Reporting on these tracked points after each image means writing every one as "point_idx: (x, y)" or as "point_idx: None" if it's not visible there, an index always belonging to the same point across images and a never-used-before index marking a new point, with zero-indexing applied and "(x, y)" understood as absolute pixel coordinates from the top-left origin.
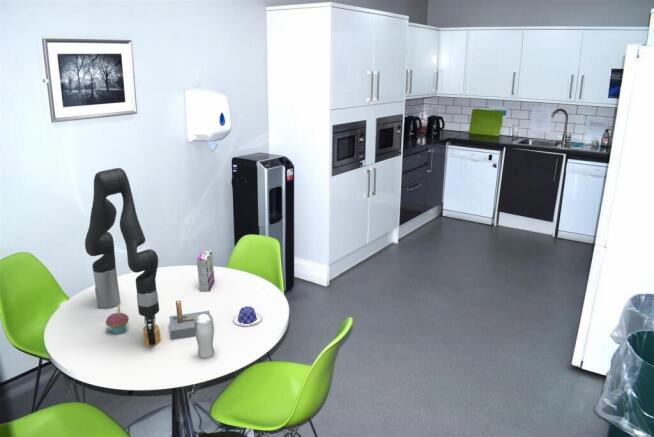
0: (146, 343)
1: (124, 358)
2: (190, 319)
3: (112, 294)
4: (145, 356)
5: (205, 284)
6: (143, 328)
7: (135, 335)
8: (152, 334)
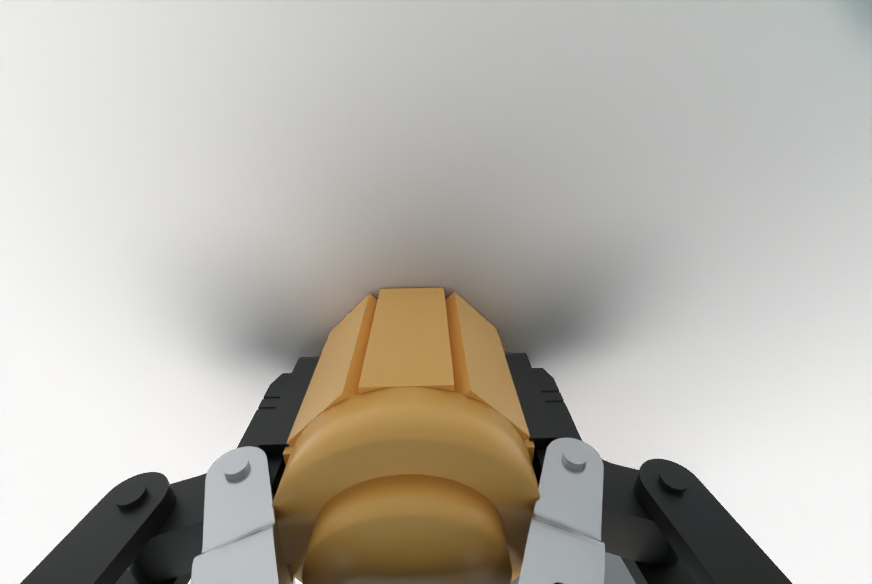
0: (348, 320)
1: (10, 18)
2: None
3: None
4: (97, 302)
5: None
6: (427, 444)
7: (651, 168)
8: (136, 576)
